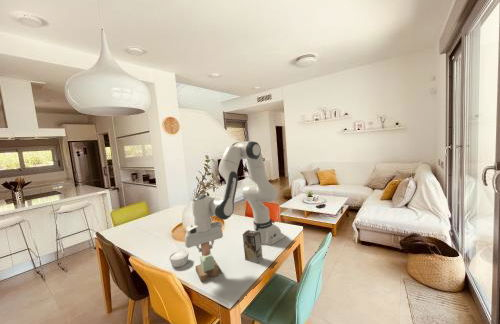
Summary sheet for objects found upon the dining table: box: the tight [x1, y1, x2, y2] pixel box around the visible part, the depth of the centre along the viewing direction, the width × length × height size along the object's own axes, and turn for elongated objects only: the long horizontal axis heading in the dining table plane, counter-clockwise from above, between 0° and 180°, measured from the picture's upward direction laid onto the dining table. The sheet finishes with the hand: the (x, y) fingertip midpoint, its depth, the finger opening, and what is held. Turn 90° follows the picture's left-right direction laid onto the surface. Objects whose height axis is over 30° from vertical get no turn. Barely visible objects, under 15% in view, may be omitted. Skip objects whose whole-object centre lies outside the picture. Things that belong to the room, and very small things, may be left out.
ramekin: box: [168, 249, 189, 268], centre depth 127 cm, size 11×11×5 cm
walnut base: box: [195, 259, 222, 283], centre depth 115 cm, size 11×11×3 cm
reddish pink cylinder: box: [200, 242, 211, 256], centre depth 114 cm, size 5×5×6 cm
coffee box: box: [242, 229, 264, 264], centre depth 124 cm, size 9×6×16 cm
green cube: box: [199, 252, 215, 272], centre depth 115 cm, size 6×6×6 cm
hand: (205, 249), depth 114 cm, fingers closed on reddish pink cylinder, 5 cm apart
